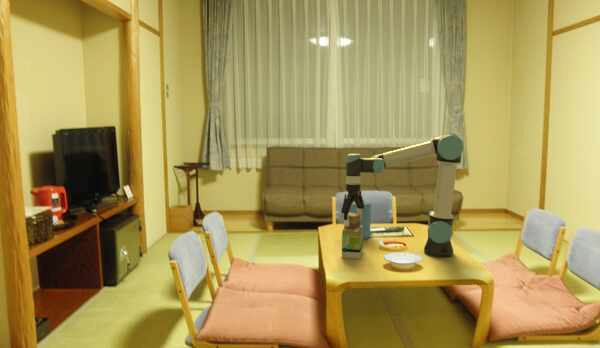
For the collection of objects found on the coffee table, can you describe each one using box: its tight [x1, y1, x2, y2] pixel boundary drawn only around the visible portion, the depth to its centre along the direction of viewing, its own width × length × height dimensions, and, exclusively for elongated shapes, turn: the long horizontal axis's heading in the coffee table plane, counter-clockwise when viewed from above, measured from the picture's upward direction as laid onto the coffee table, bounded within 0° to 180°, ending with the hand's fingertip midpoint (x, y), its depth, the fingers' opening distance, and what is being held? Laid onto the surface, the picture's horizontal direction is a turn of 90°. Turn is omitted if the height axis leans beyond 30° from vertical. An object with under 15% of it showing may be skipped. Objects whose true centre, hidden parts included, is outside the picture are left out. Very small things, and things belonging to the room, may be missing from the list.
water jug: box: [348, 189, 372, 240], centre depth 293 cm, size 16×16×28 cm
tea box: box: [341, 225, 364, 260], centre depth 259 cm, size 15×10×15 cm
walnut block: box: [344, 213, 360, 229], centre depth 257 cm, size 6×6×7 cm
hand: (352, 223), depth 258 cm, fingers open, 13 cm apart
